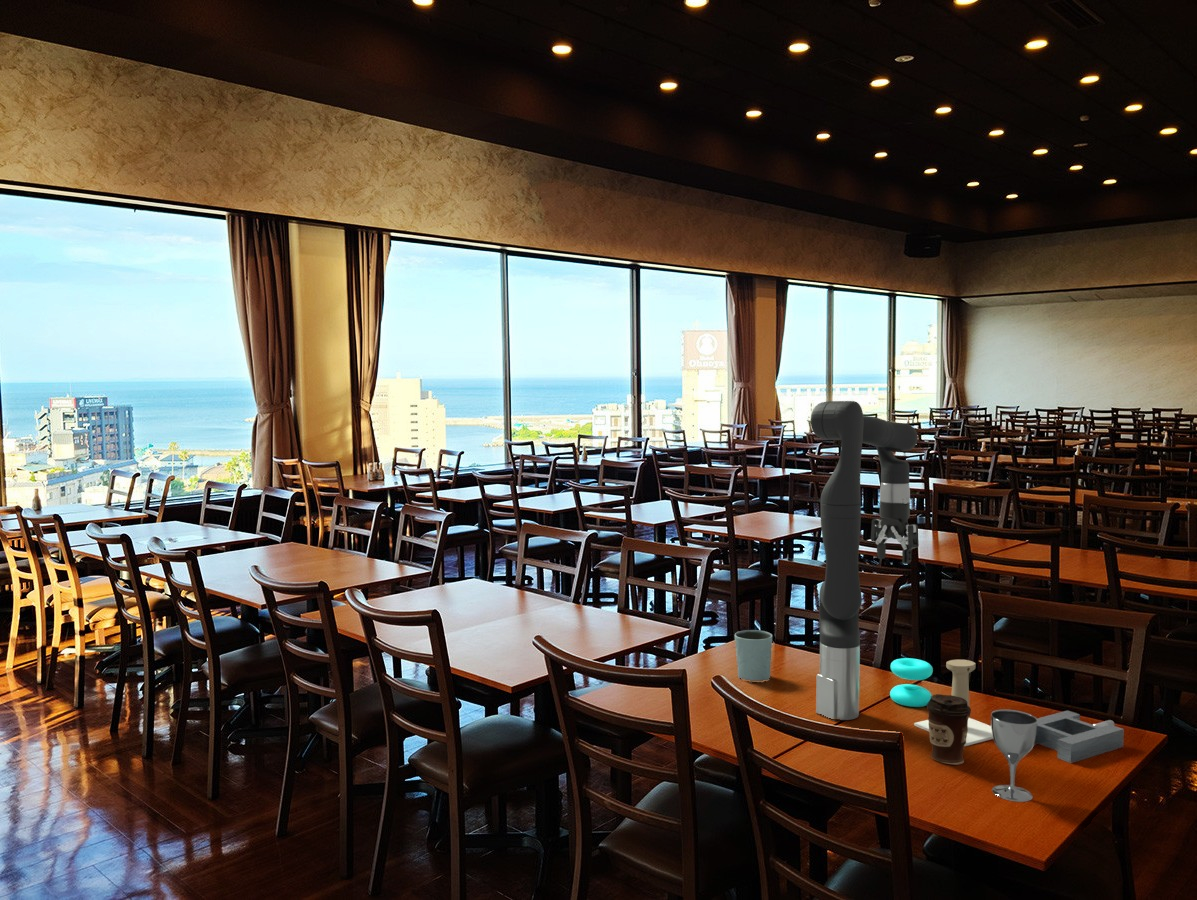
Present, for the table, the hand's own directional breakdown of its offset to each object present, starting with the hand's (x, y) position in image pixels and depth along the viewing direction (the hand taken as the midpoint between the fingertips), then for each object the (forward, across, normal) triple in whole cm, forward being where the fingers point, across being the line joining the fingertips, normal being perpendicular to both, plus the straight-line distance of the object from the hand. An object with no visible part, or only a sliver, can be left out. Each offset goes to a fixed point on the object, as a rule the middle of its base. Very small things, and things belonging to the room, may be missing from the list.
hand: (893, 561), depth 231 cm
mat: (+33, +31, -11) cm, 47 cm away
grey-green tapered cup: (+33, -22, -29) cm, 49 cm away
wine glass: (+33, +58, -29) cm, 73 cm away
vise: (+33, +48, +6) cm, 59 cm away
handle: (+33, +31, -11) cm, 46 cm away
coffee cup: (+33, +41, -27) cm, 59 cm away
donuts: (+33, +12, -6) cm, 36 cm away
